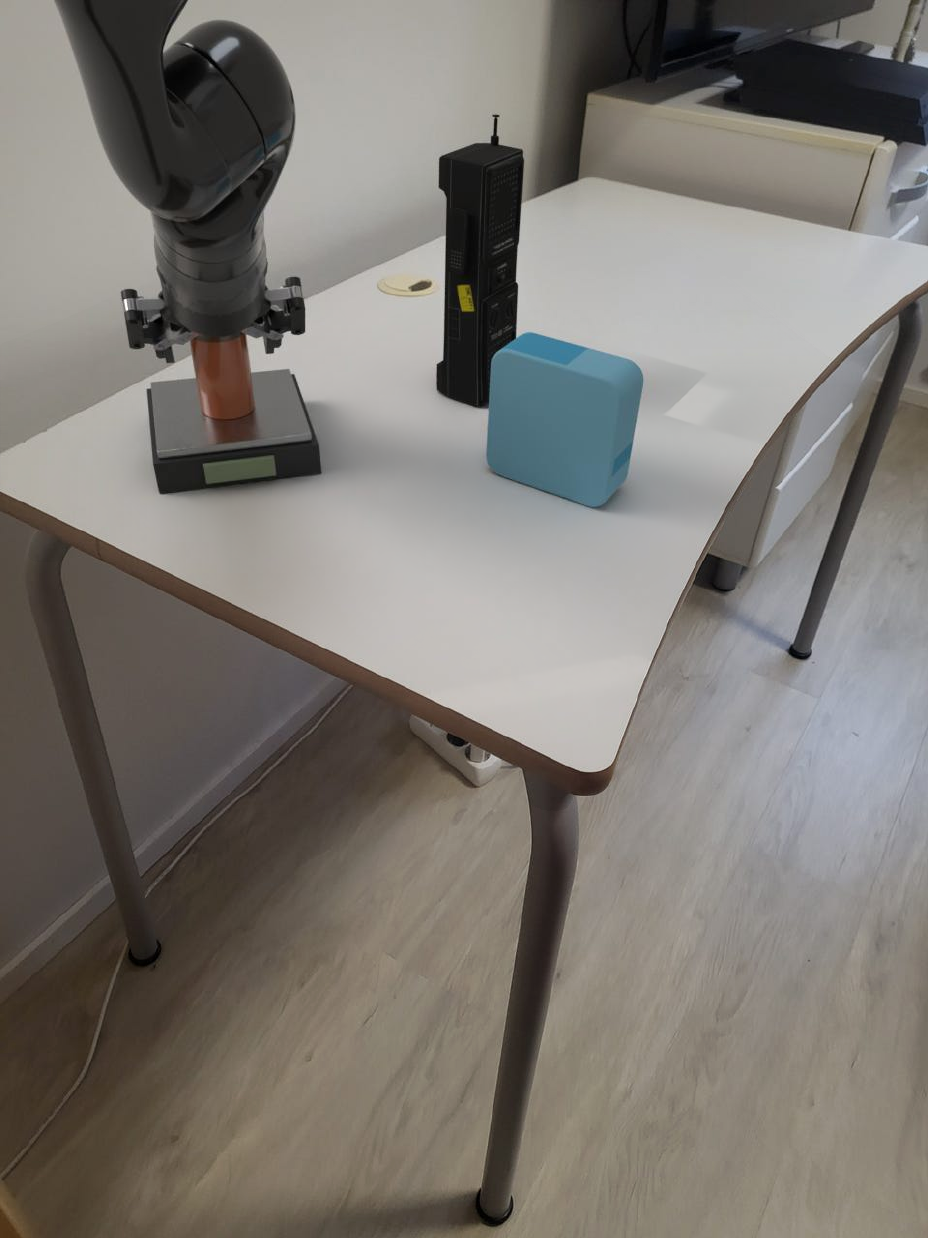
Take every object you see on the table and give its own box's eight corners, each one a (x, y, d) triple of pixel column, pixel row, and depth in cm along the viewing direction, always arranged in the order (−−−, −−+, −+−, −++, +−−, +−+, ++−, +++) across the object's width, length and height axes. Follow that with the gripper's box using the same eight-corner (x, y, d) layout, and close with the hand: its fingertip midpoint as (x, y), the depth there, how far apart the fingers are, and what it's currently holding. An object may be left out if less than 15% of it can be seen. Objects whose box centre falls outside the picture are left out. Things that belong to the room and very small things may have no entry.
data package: (626, 489, 83) (647, 362, 75) (604, 513, 80) (624, 384, 72) (508, 450, 88) (517, 326, 80) (484, 471, 85) (490, 345, 77)
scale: (159, 497, 80) (153, 466, 78) (152, 416, 90) (146, 388, 88) (322, 476, 83) (320, 446, 81) (296, 401, 94) (294, 373, 92)
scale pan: (158, 459, 79) (156, 451, 78) (151, 389, 88) (150, 382, 88) (312, 441, 82) (311, 433, 81) (289, 375, 91) (289, 368, 91)
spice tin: (202, 423, 82) (187, 336, 77) (197, 396, 86) (183, 312, 81) (259, 416, 83) (249, 330, 78) (252, 391, 87) (242, 307, 82)
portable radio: (478, 414, 93) (491, 138, 77) (428, 397, 95) (430, 126, 79) (518, 385, 98) (539, 121, 82) (470, 369, 100) (480, 110, 84)
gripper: (303, 206, 68) (292, 300, 84) (98, 217, 65) (127, 313, 81) (320, 305, 68) (306, 381, 84) (115, 322, 65) (141, 397, 80)
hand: (218, 347), depth 82 cm, fingers open, 8 cm apart
